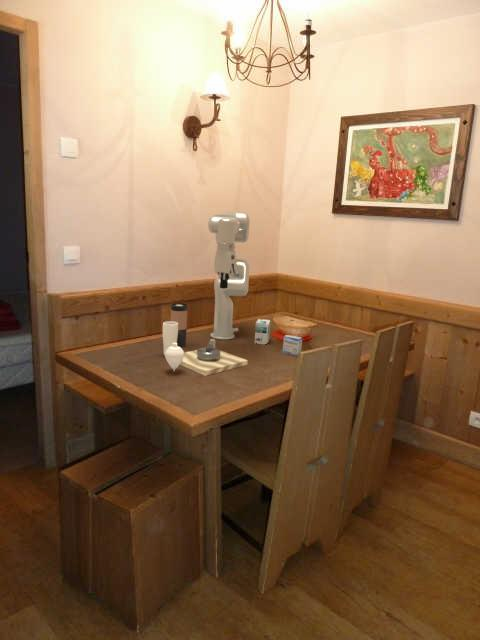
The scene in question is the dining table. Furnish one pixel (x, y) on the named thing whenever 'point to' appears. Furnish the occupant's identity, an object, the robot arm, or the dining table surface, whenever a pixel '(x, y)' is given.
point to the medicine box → (292, 344)
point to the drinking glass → (169, 334)
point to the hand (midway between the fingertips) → (223, 287)
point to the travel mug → (180, 321)
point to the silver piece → (209, 352)
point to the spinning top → (174, 356)
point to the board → (212, 363)
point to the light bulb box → (262, 331)
